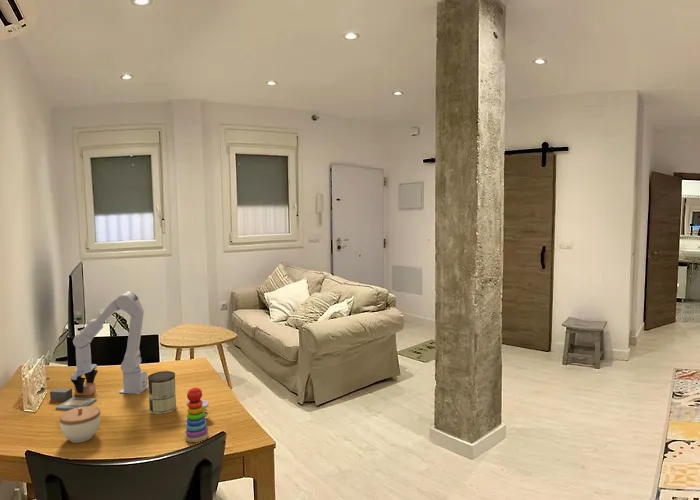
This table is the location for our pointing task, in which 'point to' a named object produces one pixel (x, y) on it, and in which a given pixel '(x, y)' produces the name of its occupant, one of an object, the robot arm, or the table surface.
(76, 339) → the robot arm
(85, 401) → the slate baseplate
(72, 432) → the lidded bowl
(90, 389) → the terracotta brick
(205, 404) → the toy table
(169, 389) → the coffee can
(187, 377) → the table surface
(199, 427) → the stacking toy
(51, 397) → the charcoal brick
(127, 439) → the table surface
